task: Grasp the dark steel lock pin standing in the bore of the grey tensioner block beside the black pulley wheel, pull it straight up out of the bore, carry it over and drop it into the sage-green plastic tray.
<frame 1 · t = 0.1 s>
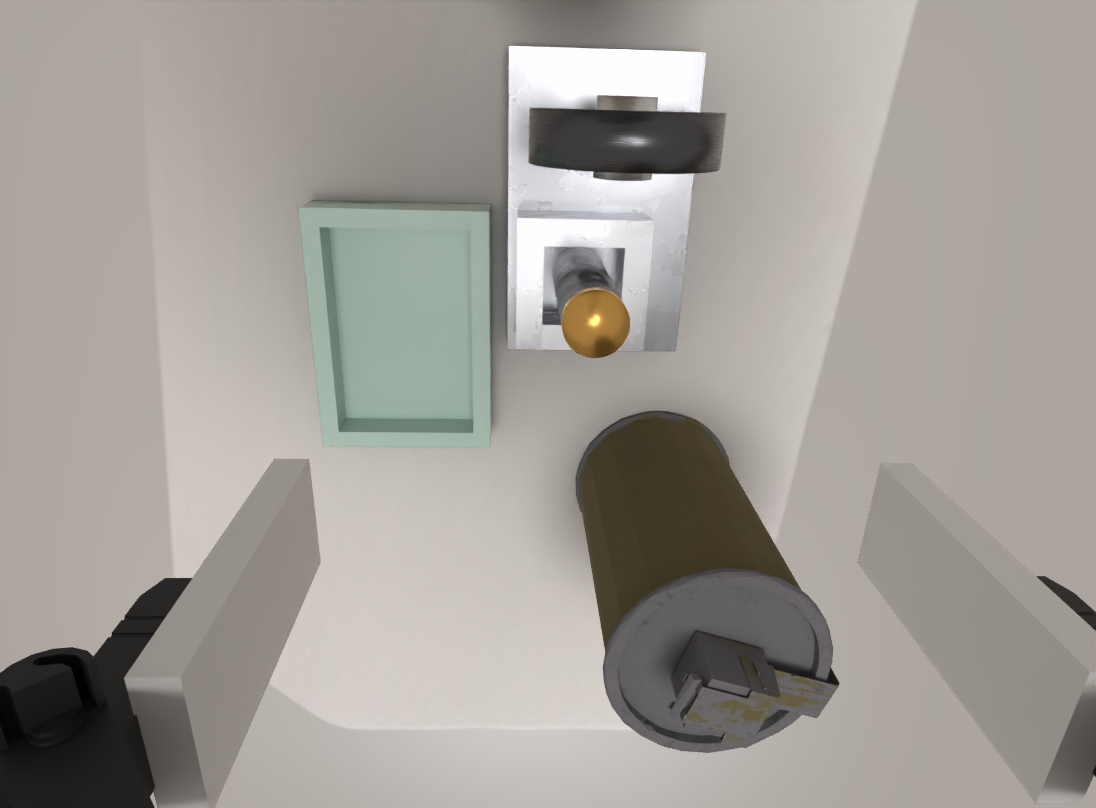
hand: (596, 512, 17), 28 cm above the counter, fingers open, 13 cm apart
tray: (408, 321, 43), on the counter
canister: (654, 481, 49), on the counter
lock pin: (578, 274, 41), point 2 cm above the counter, touching tensioner
tensioner: (595, 206, 41), on the counter
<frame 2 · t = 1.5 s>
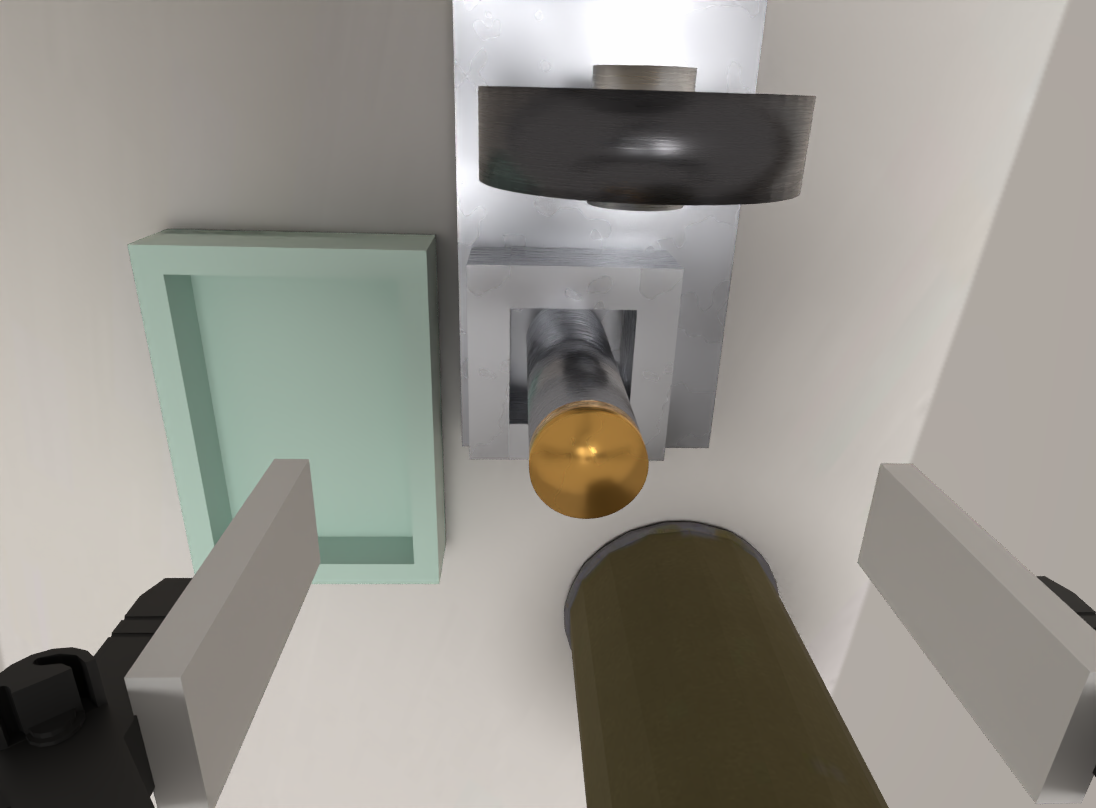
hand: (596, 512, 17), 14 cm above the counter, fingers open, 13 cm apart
tray: (320, 401, 30), on the counter
canister: (673, 609, 35), on the counter
lock pin: (565, 340, 27), point 2 cm above the counter, touching tensioner
tensioner: (592, 238, 28), on the counter
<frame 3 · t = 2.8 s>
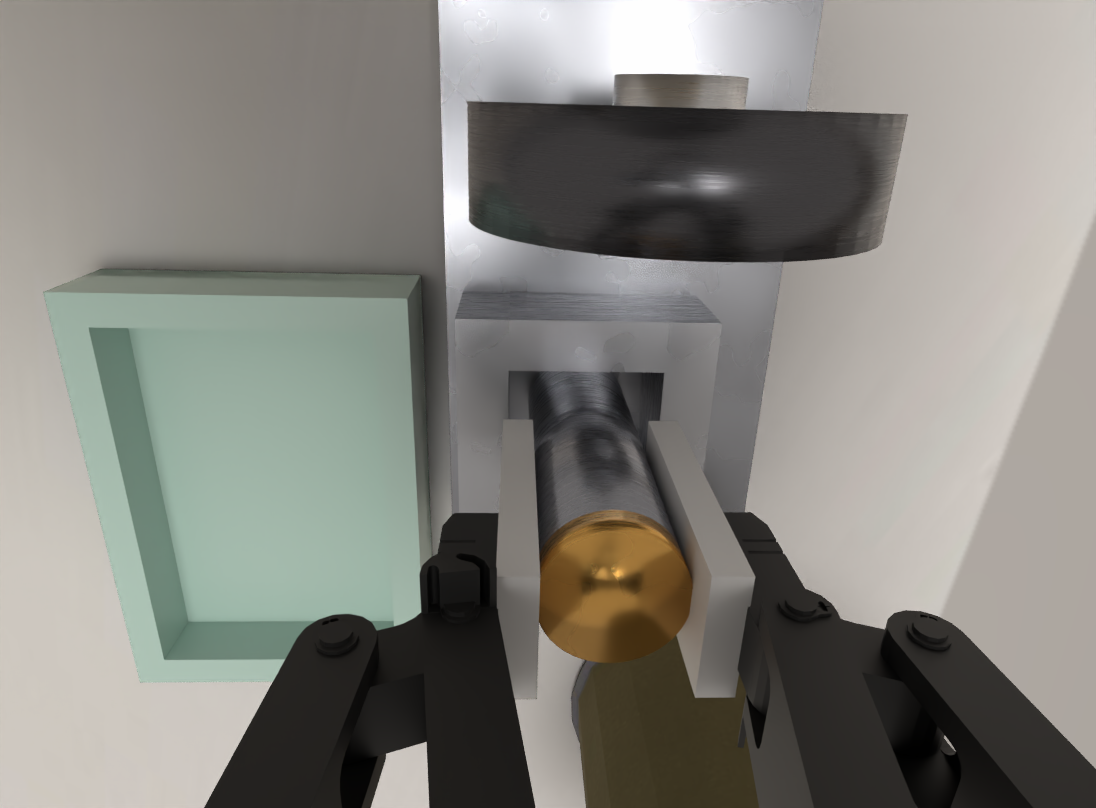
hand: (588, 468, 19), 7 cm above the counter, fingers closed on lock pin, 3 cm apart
tray: (287, 467, 26), on the counter
canister: (696, 695, 31), on the counter
lock pin: (575, 401, 23), point 2 cm above the counter, touching gripper, tensioner
tensioner: (606, 278, 23), on the counter
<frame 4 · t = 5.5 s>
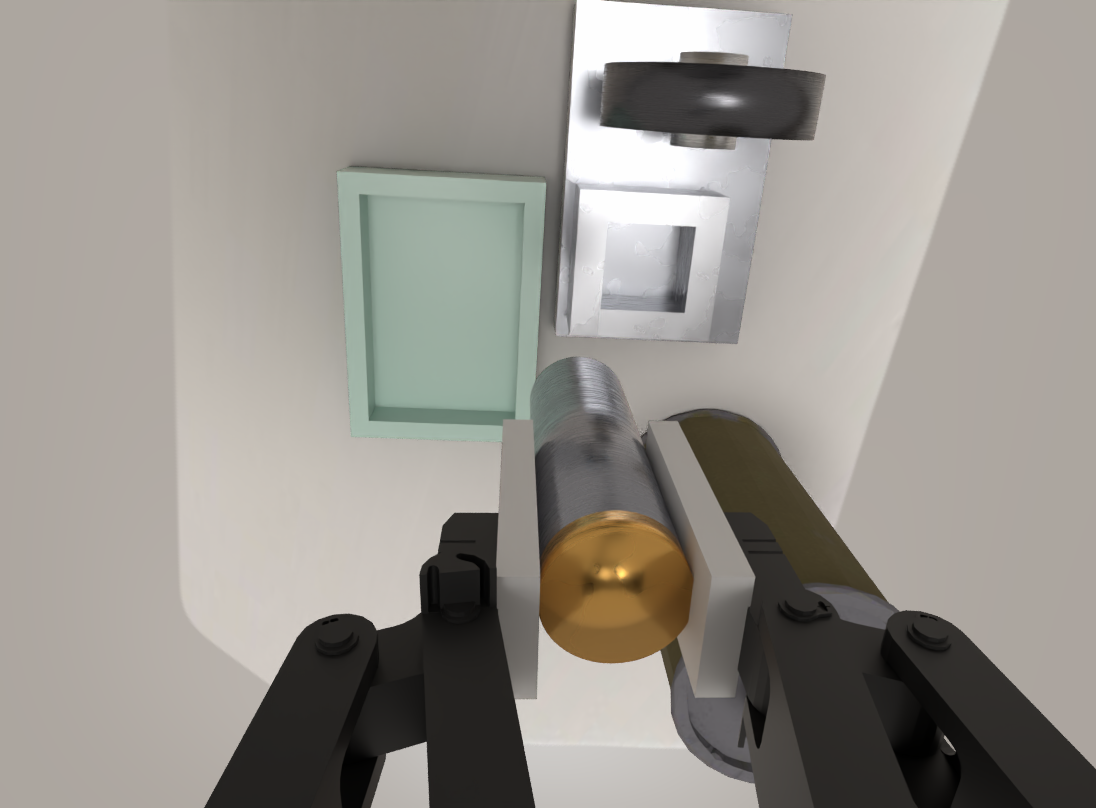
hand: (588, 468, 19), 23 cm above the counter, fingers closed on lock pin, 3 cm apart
tray: (447, 303, 40), on the counter
canister: (702, 483, 45), on the counter
lock pin: (576, 401, 23), point 18 cm above the counter, touching gripper
tensioner: (657, 183, 38), on the counter
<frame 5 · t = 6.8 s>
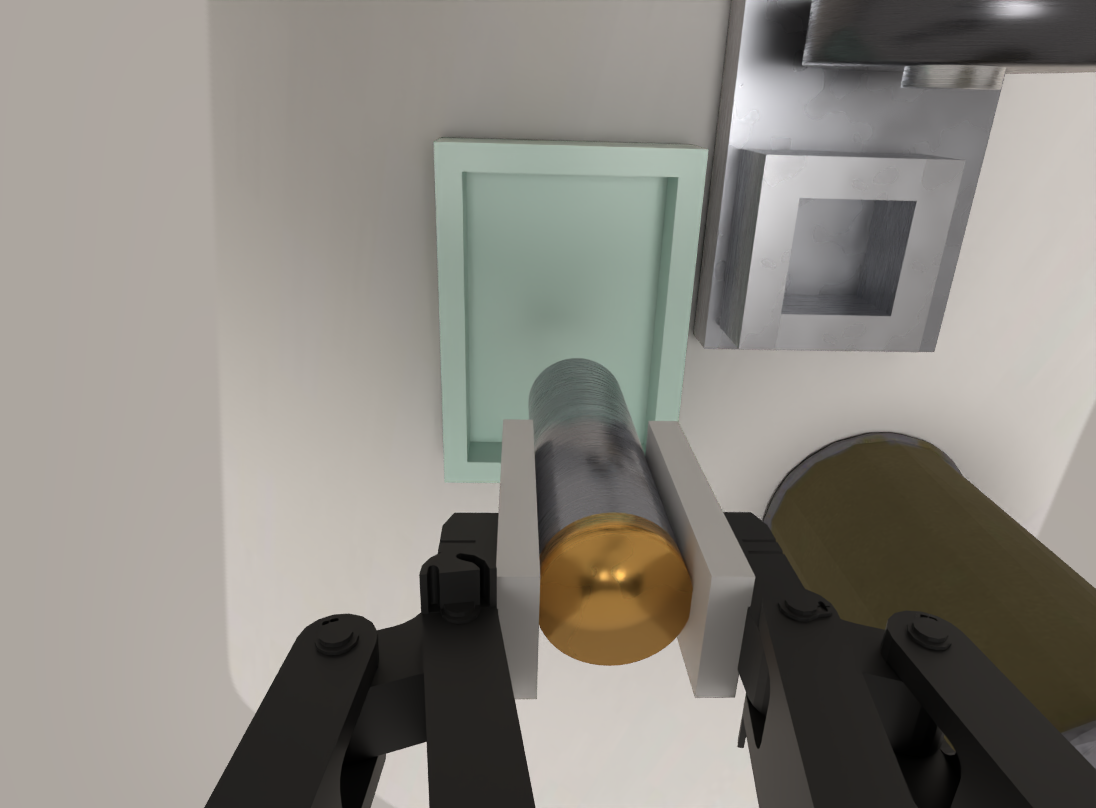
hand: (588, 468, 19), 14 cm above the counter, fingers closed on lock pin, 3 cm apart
tray: (560, 310, 31), on the counter
canister: (864, 522, 37), on the counter
lock pin: (575, 402, 23), point 10 cm above the counter, touching gripper
tensioner: (836, 148, 29), on the counter
when the fingers open (9 cm above the counter, at t = 8.0 s): lock pin drops 3 cm, resting on tray.
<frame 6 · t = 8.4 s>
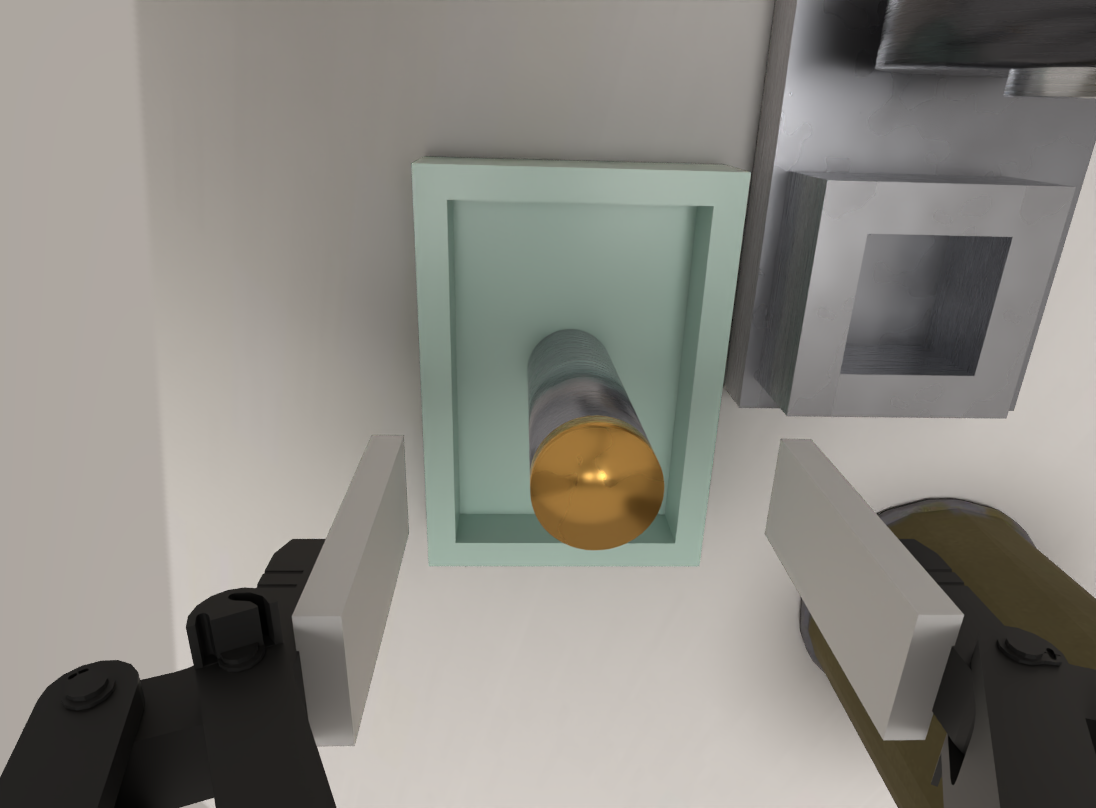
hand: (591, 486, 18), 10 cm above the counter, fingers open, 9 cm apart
tray: (567, 359, 26), on the counter
canister: (918, 598, 32), on the counter
lock pin: (569, 370, 25), point 1 cm above the counter, touching tray
tensioner: (899, 169, 24), on the counter
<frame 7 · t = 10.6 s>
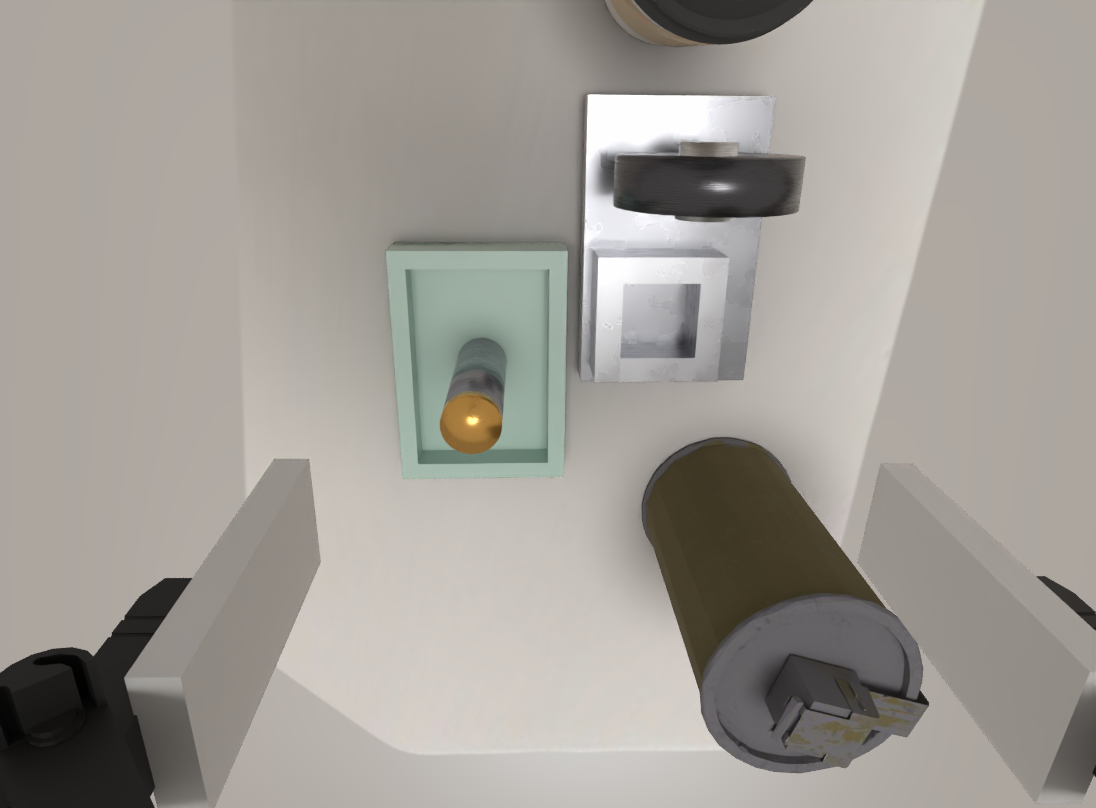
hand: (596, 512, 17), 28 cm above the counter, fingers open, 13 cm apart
tray: (482, 355, 45), on the counter
canister: (718, 505, 50), on the counter
lock pin: (482, 361, 44), point 1 cm above the counter, touching tray
tensioner: (664, 242, 43), on the counter
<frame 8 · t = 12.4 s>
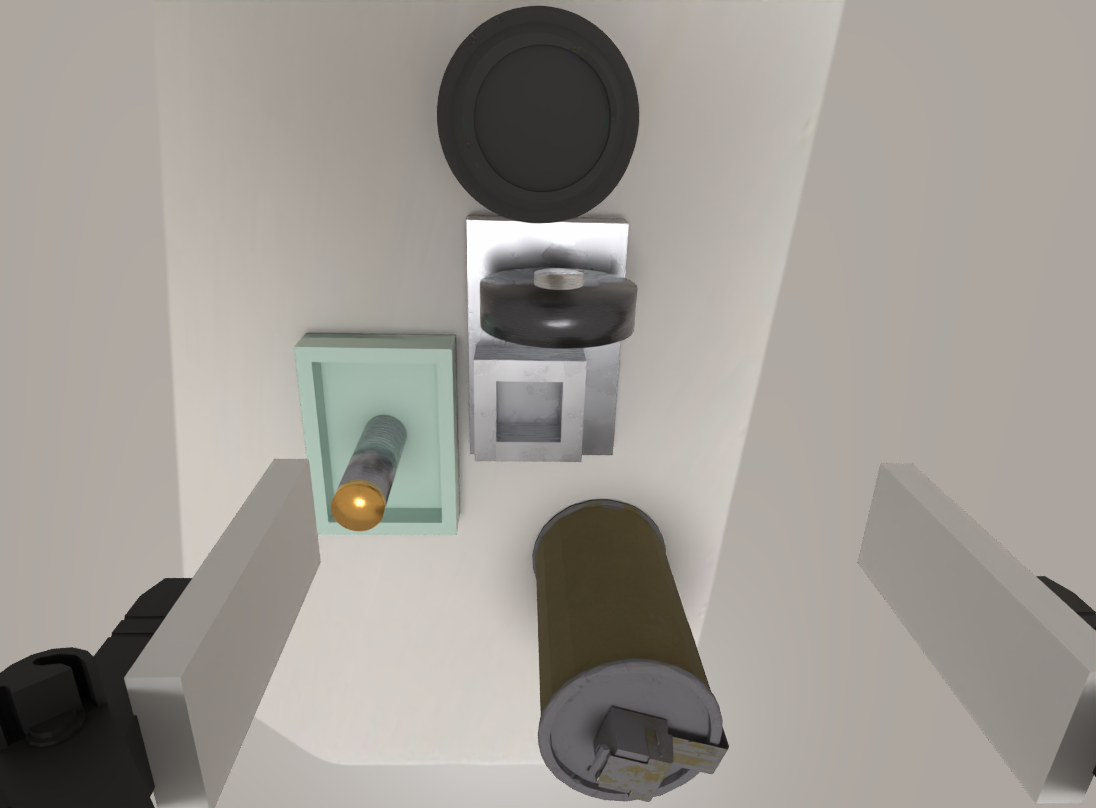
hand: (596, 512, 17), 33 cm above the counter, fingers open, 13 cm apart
coffee cup: (533, 116, 44), on the counter
tray: (387, 428, 51), on the counter
canister: (601, 555, 56), on the counter
lock pin: (385, 434, 50), point 1 cm above the counter, touching tray
tensioner: (543, 336, 49), on the counter
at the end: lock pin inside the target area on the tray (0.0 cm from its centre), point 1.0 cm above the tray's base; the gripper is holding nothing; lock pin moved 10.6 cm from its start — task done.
